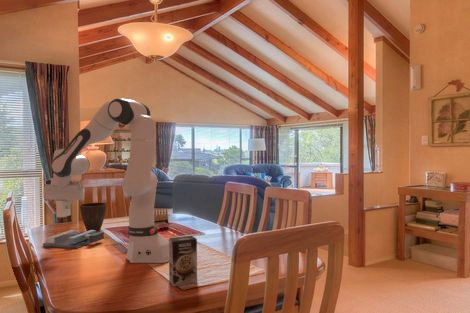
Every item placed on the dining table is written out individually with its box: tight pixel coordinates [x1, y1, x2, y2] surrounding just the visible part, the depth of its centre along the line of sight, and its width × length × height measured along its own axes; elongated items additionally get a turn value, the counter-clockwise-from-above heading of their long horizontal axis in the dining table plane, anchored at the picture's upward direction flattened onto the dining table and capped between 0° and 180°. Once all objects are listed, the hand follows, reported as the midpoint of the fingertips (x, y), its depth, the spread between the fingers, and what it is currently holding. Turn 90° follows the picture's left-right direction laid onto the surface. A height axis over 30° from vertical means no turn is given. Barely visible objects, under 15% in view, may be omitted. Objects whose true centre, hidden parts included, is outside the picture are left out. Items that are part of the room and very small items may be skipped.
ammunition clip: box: [154, 208, 169, 225], centre depth 221 cm, size 11×2×12 cm, turn 117°
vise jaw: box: [69, 230, 105, 244], centre depth 188 cm, size 11×18×3 cm, turn 166°
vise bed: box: [42, 229, 93, 250], centre depth 190 cm, size 20×20×4 cm
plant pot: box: [79, 202, 107, 233], centre depth 217 cm, size 15×15×16 cm
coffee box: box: [168, 235, 198, 287], centre depth 131 cm, size 9×6×16 cm
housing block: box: [55, 200, 72, 218], centre depth 179 cm, size 4×6×8 cm, turn 167°
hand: (63, 208), depth 179 cm, fingers closed on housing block, 3 cm apart
